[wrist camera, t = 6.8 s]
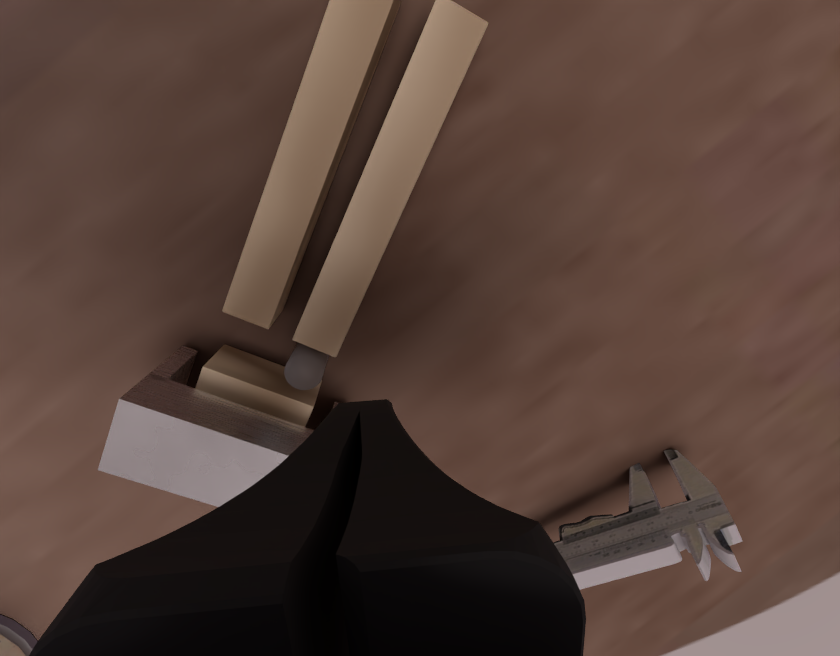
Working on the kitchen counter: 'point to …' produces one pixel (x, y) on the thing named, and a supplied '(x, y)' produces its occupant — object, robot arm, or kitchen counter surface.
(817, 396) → the kitchen counter surface
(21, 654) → the cream cylinder
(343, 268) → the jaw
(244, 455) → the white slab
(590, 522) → the caliper
